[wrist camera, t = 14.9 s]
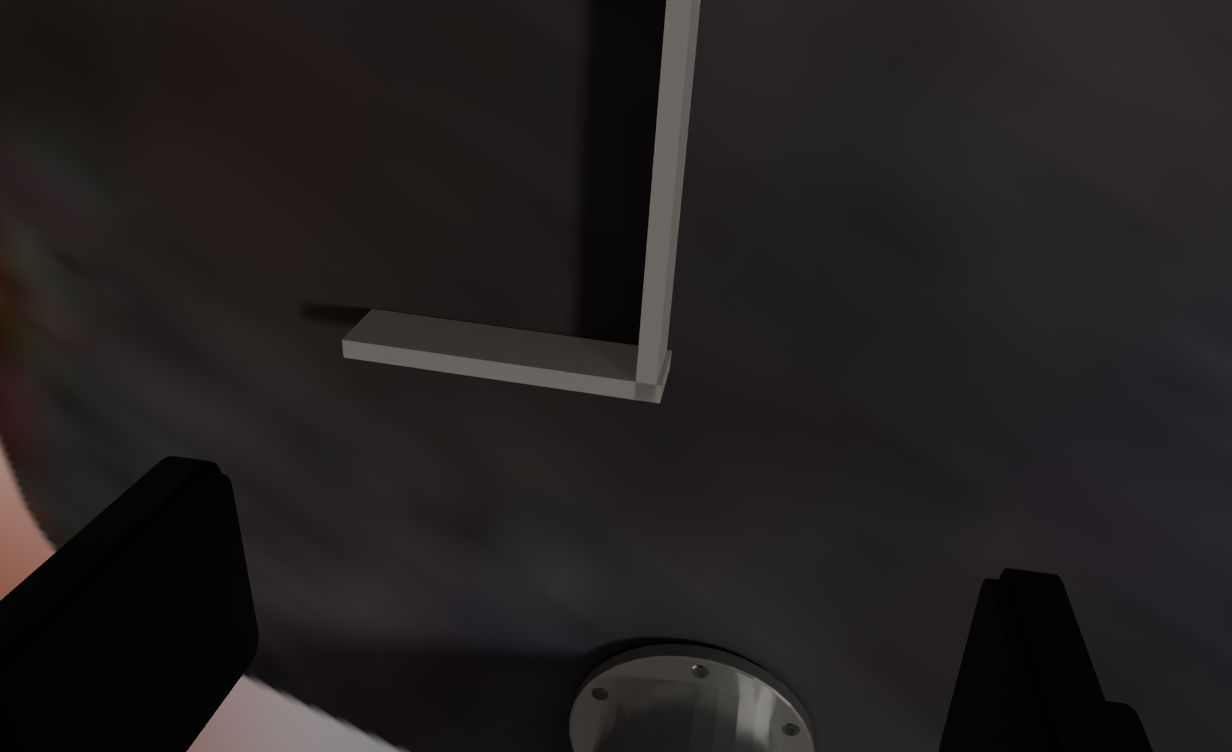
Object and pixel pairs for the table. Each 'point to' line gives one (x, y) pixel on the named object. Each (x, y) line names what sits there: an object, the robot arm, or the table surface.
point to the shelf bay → (561, 355)
